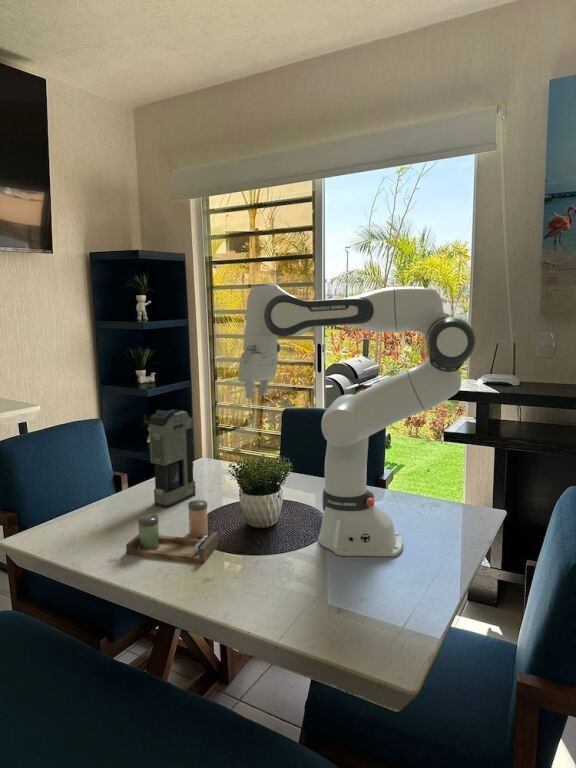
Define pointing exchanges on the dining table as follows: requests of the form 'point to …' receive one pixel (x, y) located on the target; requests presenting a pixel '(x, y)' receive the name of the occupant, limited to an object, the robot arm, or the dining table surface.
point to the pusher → (200, 544)
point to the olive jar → (149, 532)
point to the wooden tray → (176, 548)
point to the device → (172, 457)
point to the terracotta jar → (198, 518)
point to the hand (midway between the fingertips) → (255, 396)
